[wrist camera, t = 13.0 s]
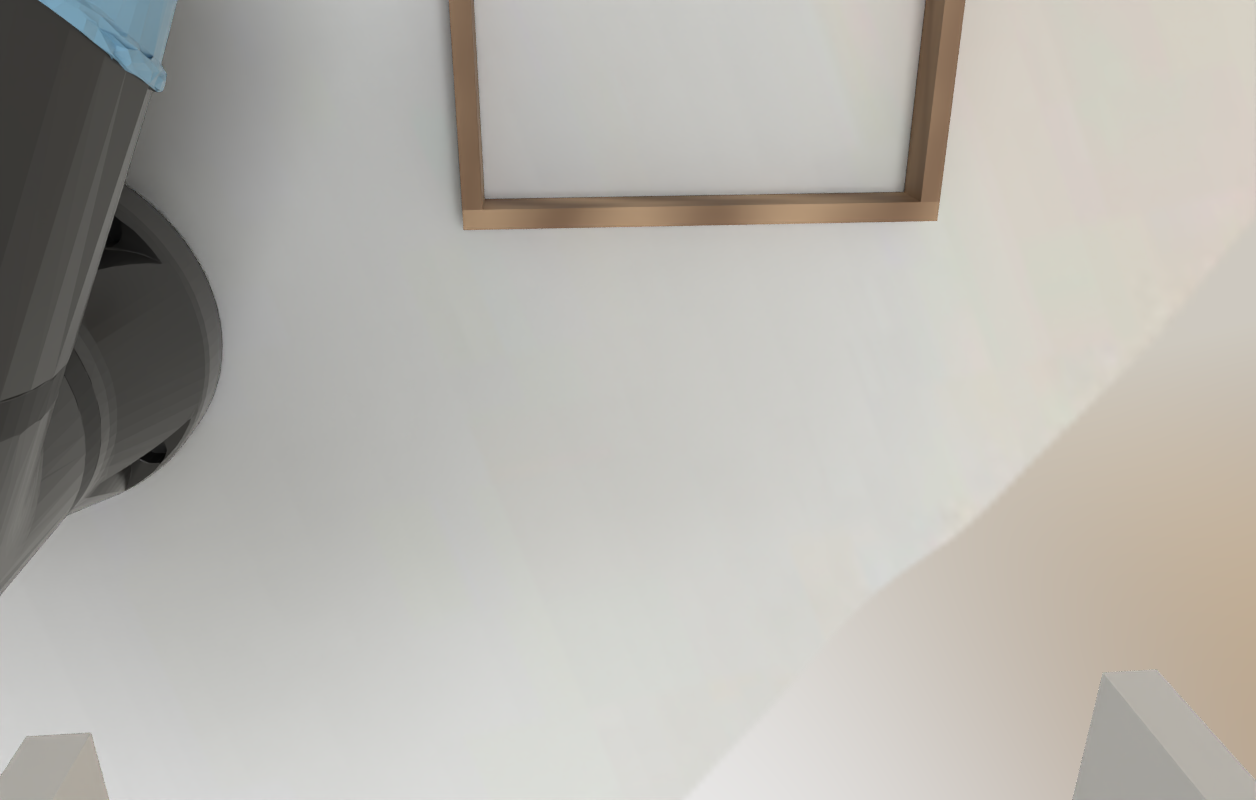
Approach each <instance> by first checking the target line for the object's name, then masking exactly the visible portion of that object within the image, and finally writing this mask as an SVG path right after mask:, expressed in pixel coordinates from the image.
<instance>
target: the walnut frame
mask: <svg viewBox="0 0 1256 800" xmlns="http://www.w3.org/2000/svg"><path fill="white" fill-rule="evenodd" d="M964 7H965V0H926V4H925V13H924V22H923V30H922V39H921V48H920V57H919V66H918V75H917V83H916V92H915V101H914V110H913V119H912V127H911V136H910V145H909V154H908V163H907V172H906V180H905V189H904V192H880V193H820V194H760V195H700V196H641V197H581V198H521V199H485V197H484V179H483V160H482V142H481V124H480V106H479V88H478V70H477V52H476V33H475V15H474V0H449V11H450V27H451V42H452V58H453V73H454V89H455V104H456V120H457V135H458V151H459V166H460V182H461V197H462V213H463V229H464V230H486V229H538V228H590V227H642V226H695V225H747V224H799V223H851V222H903V221H937V217H938V210H939V202H940V194H941V186H942V178H943V171H944V163H945V155H946V147H947V139H948V132H949V124H950V116H951V108H952V100H953V93H954V85H955V77H956V69H957V61H958V54H959V46H960V38H961V30H962V22H963V14H964Z"/></svg>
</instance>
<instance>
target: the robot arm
mask: <svg viewBox="0 0 1256 800" xmlns="http://www.w3.org/2000/svg"><path fill="white" fill-rule="evenodd" d="M176 4H177V0H0V595H1V594H2V593H3V591H4V590H5V589H6V588H7V587H8V585H9V584H10V583H11V582H12V581H13V579H14V578H15V577H16V576H17V575H18V573H19V572H20V571H21V570H22V569H23V567H24V566H25V565H26V564H27V563H28V561H29V560H30V559H31V558H32V557H33V555H34V554H35V553H36V552H37V551H38V549H39V548H40V547H41V546H42V545H43V543H44V542H45V541H46V540H47V539H48V537H49V536H50V535H51V534H52V533H53V531H54V530H55V529H56V528H57V527H58V525H59V524H60V523H61V522H62V521H63V519H64V518H65V517H66V516H67V515H69V514H72V513H74V512H76V511H79V510H81V509H84V508H86V507H89V506H91V505H93V504H96V503H98V502H101V501H103V500H106V499H108V498H110V497H113V496H115V495H118V494H120V493H122V492H124V491H127V490H128V489H130V488H132V487H134V486H136V485H138V484H139V483H141V482H142V481H144V480H145V479H147V478H148V477H150V476H151V475H152V474H154V473H155V472H156V471H158V470H159V469H160V468H161V467H163V466H164V465H165V464H166V463H167V462H168V461H169V460H170V459H171V458H172V457H173V456H174V455H175V454H176V453H177V452H178V451H179V449H180V448H181V447H182V445H183V444H184V443H185V441H186V440H187V439H188V437H189V436H190V435H191V433H192V432H193V431H194V429H195V428H196V426H197V425H198V424H199V422H200V421H201V419H202V417H203V416H204V414H205V412H206V411H207V409H208V407H209V405H210V403H211V400H212V398H213V395H214V393H215V389H216V386H217V383H218V378H219V374H220V368H221V360H222V334H221V327H220V320H219V315H218V310H217V307H216V303H215V300H214V296H213V294H212V291H211V288H210V286H209V283H208V281H207V279H206V277H205V275H204V272H203V270H202V269H201V267H200V265H199V263H198V261H197V260H196V258H195V256H194V255H193V253H192V252H191V250H190V249H189V247H188V246H187V244H186V243H185V242H184V240H183V239H182V238H181V236H180V235H179V234H178V233H177V231H176V230H175V229H174V228H173V227H172V226H171V224H170V223H169V222H168V221H167V220H166V219H165V218H164V217H163V216H162V215H161V214H160V213H159V212H158V211H157V210H156V209H155V208H153V207H152V206H151V205H150V204H149V203H148V202H147V201H145V200H144V199H143V198H142V197H140V196H139V195H138V194H137V193H135V192H134V191H133V190H131V189H130V188H128V187H127V186H125V185H124V182H125V179H126V176H127V173H128V169H129V166H130V163H131V159H132V156H133V153H134V150H135V146H136V143H137V140H138V137H139V133H140V130H141V127H142V124H143V120H144V117H145V114H146V111H147V107H148V104H149V101H150V98H151V94H152V91H155V92H162V91H163V90H164V87H165V83H166V77H167V74H166V72H165V70H164V69H163V67H162V59H163V55H164V51H165V47H166V43H167V39H168V36H169V32H170V28H171V24H172V20H173V16H174V12H175V8H176ZM0 800H109V797H108V793H107V790H106V786H105V782H104V779H103V775H102V771H101V768H100V764H99V760H98V757H97V753H96V749H95V746H94V742H93V738H92V735H91V733H77V734H60V735H44V736H27V737H26V738H25V739H24V741H23V742H22V744H21V745H20V747H19V748H18V750H17V752H16V753H15V755H14V756H13V758H12V759H11V761H10V762H9V764H8V765H7V767H6V768H5V770H4V771H3V773H2V774H1V776H0ZM1072 800H1256V780H1255V779H1254V778H1253V777H1252V776H1251V774H1250V773H1249V772H1248V771H1247V770H1246V769H1245V768H1244V767H1243V765H1242V764H1241V763H1240V762H1239V761H1238V760H1237V759H1236V758H1235V757H1234V755H1233V754H1232V753H1231V752H1230V751H1229V750H1228V749H1227V748H1226V746H1225V745H1224V744H1223V743H1222V742H1221V741H1220V740H1219V739H1218V738H1217V736H1216V735H1215V734H1214V733H1213V732H1212V731H1211V730H1210V729H1209V728H1208V726H1207V725H1206V724H1205V723H1204V722H1203V721H1202V720H1201V719H1200V717H1199V716H1198V715H1197V714H1196V713H1195V712H1194V711H1193V710H1192V708H1191V707H1190V706H1189V705H1188V704H1187V703H1186V702H1185V700H1183V698H1182V697H1181V696H1180V695H1179V694H1178V693H1177V692H1176V690H1174V688H1173V687H1172V686H1171V685H1170V684H1169V683H1168V681H1167V680H1166V679H1165V678H1164V677H1163V676H1162V675H1161V674H1160V673H1159V671H1158V670H1156V669H1155V670H1138V671H1121V672H1104V673H1103V674H1102V678H1101V682H1100V686H1099V690H1098V695H1097V699H1096V703H1095V707H1094V711H1093V716H1092V720H1091V724H1090V728H1089V732H1088V737H1087V741H1086V745H1085V749H1084V753H1083V757H1082V762H1081V766H1080V770H1079V774H1078V778H1077V782H1076V787H1075V791H1074V795H1073V799H1072Z"/></svg>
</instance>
